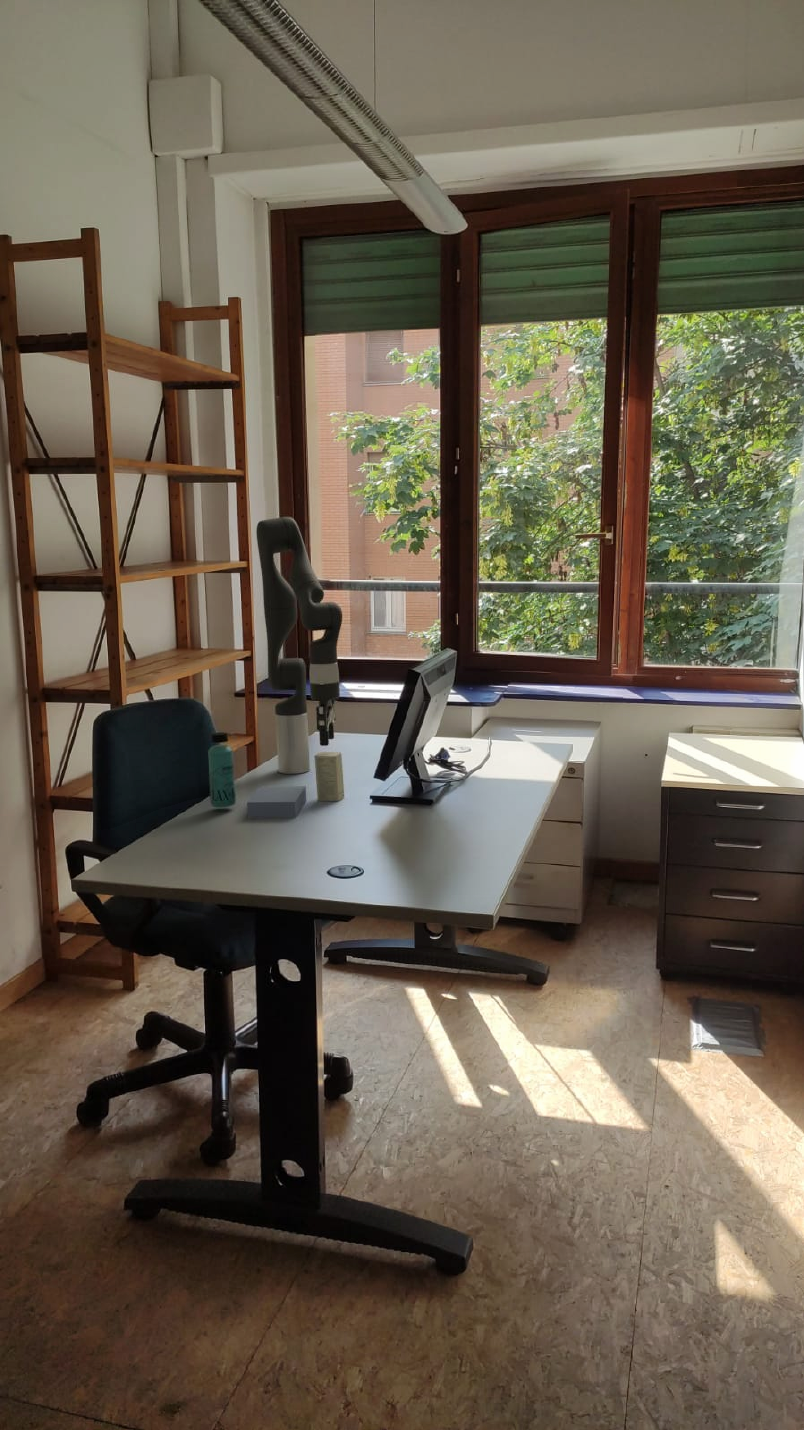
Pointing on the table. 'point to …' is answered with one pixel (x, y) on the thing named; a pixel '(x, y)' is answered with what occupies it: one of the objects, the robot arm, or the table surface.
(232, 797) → the beverage bottle
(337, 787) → the skincare box
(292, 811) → the flat grey slab
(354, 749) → the table surface
